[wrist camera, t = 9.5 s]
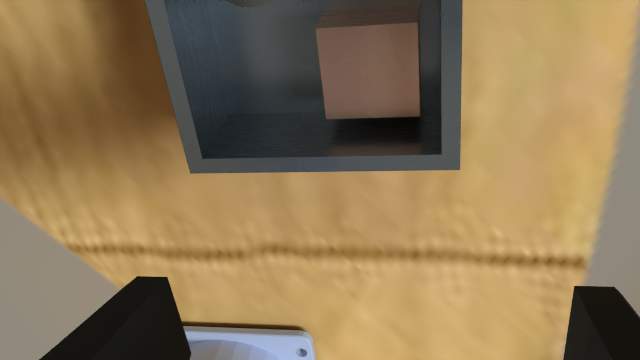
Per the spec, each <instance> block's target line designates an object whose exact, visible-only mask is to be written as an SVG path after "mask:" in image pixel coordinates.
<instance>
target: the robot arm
mask: <svg viewBox="0 0 640 360" xmlns="http://www.w3.org/2000/svg"><path fill="white" fill-rule="evenodd" d="M300 348H301V349H304V350H301V349H300ZM39 360H316V357H315V351H314V345H313V339H312V337H311V335H310V334H309V333H307V332H305V331H301V330H276V329H250V328H224V327H198V326H183V325H182V322H181V318H180V315H179V312H178V309H177V306H176V303H175V300H174V297H173V293H172V290H171V287H170V284H169V281H168V278H167V277H141V276H137V277H136V278H135V279H134V280H132V281H131V282H130V283H129V284H127V285H126V286H125V287H124V288H123V289H121V290H120V291H119V292H118V293H117V294H115V295H114V296H113V297H112V298H111V299H110V300H109V301H107V302H106V303H105V304H104V305H103V306H102V307H100V308H99V309H98V310H97V311H96V312H95V313H94V314H92V315H91V316H90V317H89V318H88V319H87V320H85V321H84V322H83V323H82V324H81V325H80V326H78V327H77V328H76V329H75V330H74V331H73V332H72V333H70V334H69V335H68V336H67V337H66V338H64V339H63V340H62V341H61V342H60V343H59V344H58V345H56V346H55V347H54V348H53V349H51V350H50V351H49V352H48V353H47V354H46V355H44V356H43V357H42V358H41V359H39ZM563 360H640V317H639V316H638V314H637V313H636V312H635V311H634V309H633V308H632V307H631V306H630V304H629V303H628V302H627V301H626V299H625V298H624V297H623V295H622V294H621V293H620V292H619V291H618V290H617V289H616V288H615V287H596V286H594V287H593V286H574V293H573V299H572V306H571V313H570V319H569V326H568V333H567V339H566V346H565V353H564V359H563Z"/></svg>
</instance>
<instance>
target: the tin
mask: <svg viewBox="0 0 640 360" xmlns="http://www.w3.org/2000/svg"><path fill="white" fill-rule="evenodd" d="M145 2H146V6H147V10H148V14H149V18H150V22H151V25H152V29H153V33H154V37H155V41H156V44H157V48H158V52H159V56H160V60H161V63H162V67H163V71H164V75H165V79H166V83H167V86H168V90H169V94H170V98H171V102H172V105H173V109H174V113H175V117H176V121H177V124H178V128H179V132H180V136H181V140H182V144H183V147H184V151H185V155H186V159H187V163H188V166H189V170H190V173H260V172H335V171H410V170H460V136H461V67H462V0H145Z"/></svg>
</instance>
